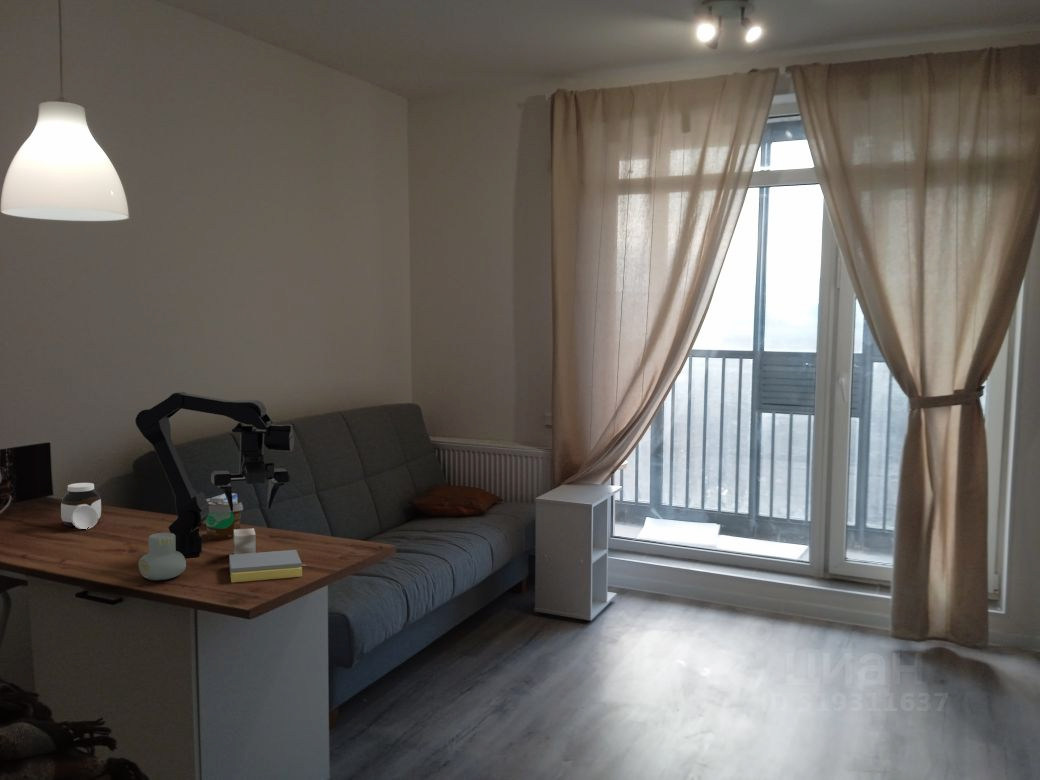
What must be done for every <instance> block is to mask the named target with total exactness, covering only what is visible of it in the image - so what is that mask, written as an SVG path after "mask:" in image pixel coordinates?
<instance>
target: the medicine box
mask: <svg viewBox="0 0 1040 780" xmlns="http://www.w3.org/2000/svg"><path fill="white" fill-rule="evenodd" d="M232 500H233V504H236V503H238V494H237V493H234V492H232ZM210 501H211V502H227V503H228V501H227V498H226V495H225V493H224V492H223V493H222V494H219V495H216V496H213V497H211V498H210Z"/></svg>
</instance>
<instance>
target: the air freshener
mask: <svg viewBox="0 0 1040 780" xmlns="http://www.w3.org/2000/svg"><path fill="white" fill-rule="evenodd" d="M147 542H148V543H147V544H148V547H147V548H148V549H147V550H148V552H147V553H145V554H144V555H142V557H140V558H139V560H138V570H139V572H140V574H141V576H142V577H144V578H145V579H148V580H149V581H167V580H170V579H174V578H175V577H178V576H180V575H181V574H182V573H183V572H184V571H185V570H186V568H187V561H186V557H184V556H183V555H182V554H181V553H180V552H178V551H176V538H175V535H174V534H173V533H170V532H156V533H152V534H150V535H149V536H148V541H147Z"/></svg>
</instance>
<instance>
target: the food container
mask: <svg viewBox="0 0 1040 780" xmlns="http://www.w3.org/2000/svg"><path fill="white" fill-rule="evenodd" d="M206 500H207V502H208V503H209V504H210V506H209V507H208V508H209V514H208V517H207V518H206V519H205V525H206V535H207V538H208V539H210V540H214V541H216V540H217V541H226V540H234V530H235V529H241V517H242V511H243V510H244V505H243V503H242V501H241V502H237V503H236V504H233V511H231V510H230V507H229V504H228V503H227V502H211V501H210V498H206Z"/></svg>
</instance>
